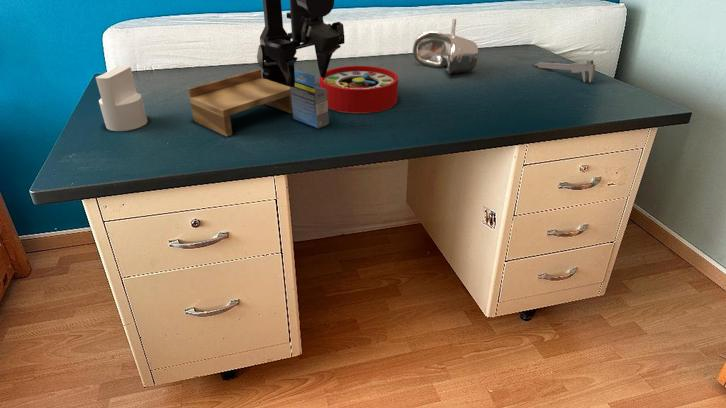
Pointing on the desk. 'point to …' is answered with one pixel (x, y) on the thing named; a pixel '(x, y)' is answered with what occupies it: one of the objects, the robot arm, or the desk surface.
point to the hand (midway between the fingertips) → (308, 81)
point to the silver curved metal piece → (446, 51)
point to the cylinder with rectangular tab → (120, 100)
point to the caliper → (573, 68)
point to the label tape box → (309, 101)
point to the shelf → (235, 99)
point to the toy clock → (360, 89)
